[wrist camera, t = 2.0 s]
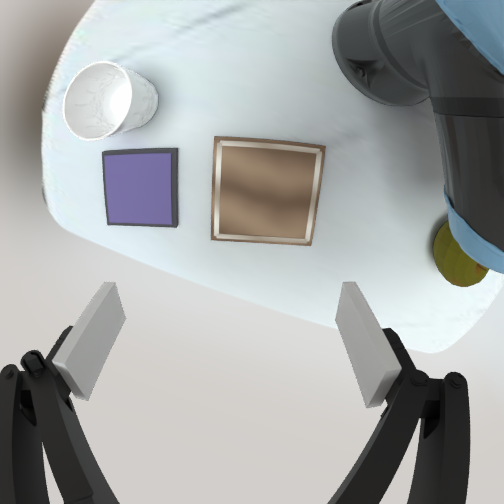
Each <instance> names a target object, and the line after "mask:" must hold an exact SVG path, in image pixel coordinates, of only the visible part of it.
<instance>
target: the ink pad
mask: <svg viewBox="0 0 504 504" xmlns="http://www.w3.org/2000/svg"><path fill="white" fill-rule="evenodd" d="M177 160H178V148H153V149H128V150H111V151H104V152H102V164H103V182H104V195H105V206H106V216H107V224H108V225H123V226H150V227H174V228H176V227H177V226H178V201H177Z"/></svg>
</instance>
